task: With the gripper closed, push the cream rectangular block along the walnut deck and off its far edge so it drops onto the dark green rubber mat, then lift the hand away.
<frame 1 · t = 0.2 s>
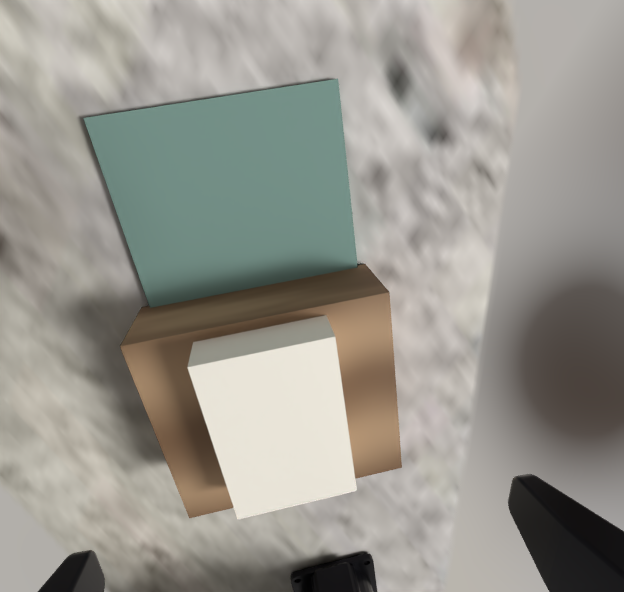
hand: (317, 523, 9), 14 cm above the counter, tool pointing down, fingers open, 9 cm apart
mat: (237, 200, 19), on the counter
deck: (274, 370, 24), on the counter
cream rectangular block: (278, 407, 20), point 4 cm above the counter, touching deck
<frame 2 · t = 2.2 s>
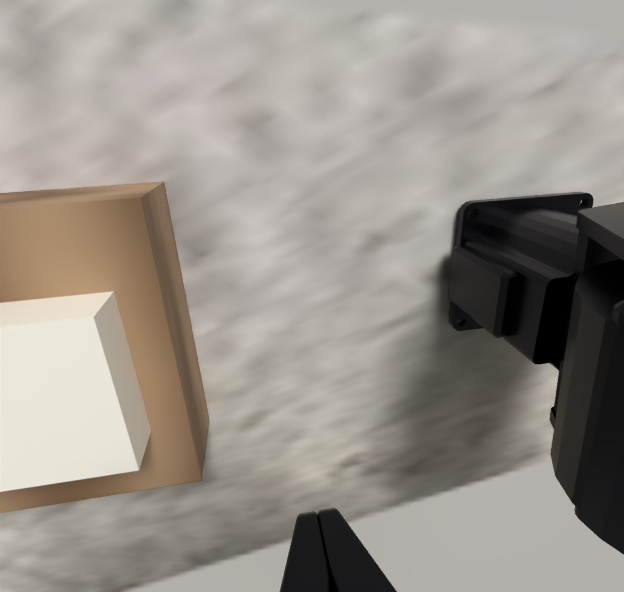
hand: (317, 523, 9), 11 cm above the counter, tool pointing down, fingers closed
deck: (62, 329, 18), on the counter
cream rectangular block: (1, 383, 14), point 4 cm above the counter, touching deck
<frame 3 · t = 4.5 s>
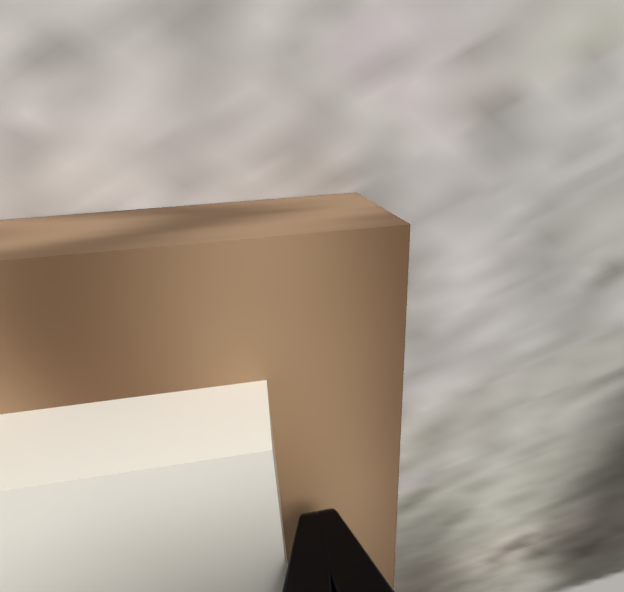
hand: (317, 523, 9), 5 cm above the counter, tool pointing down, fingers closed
deck: (190, 396, 13), on the counter
cream rectangular block: (78, 517, 9), point 4 cm above the counter, touching deck, gripper
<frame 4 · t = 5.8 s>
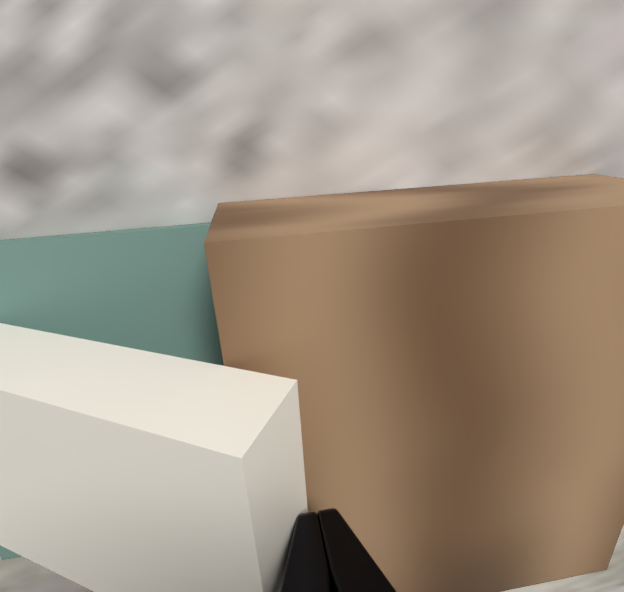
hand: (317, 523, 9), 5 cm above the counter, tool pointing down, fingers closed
mat: (100, 408, 13), on the counter
deck: (407, 367, 14), on the counter
cream rectangular block: (143, 447, 10), point 3 cm above the counter, tilted 30°, touching gripper
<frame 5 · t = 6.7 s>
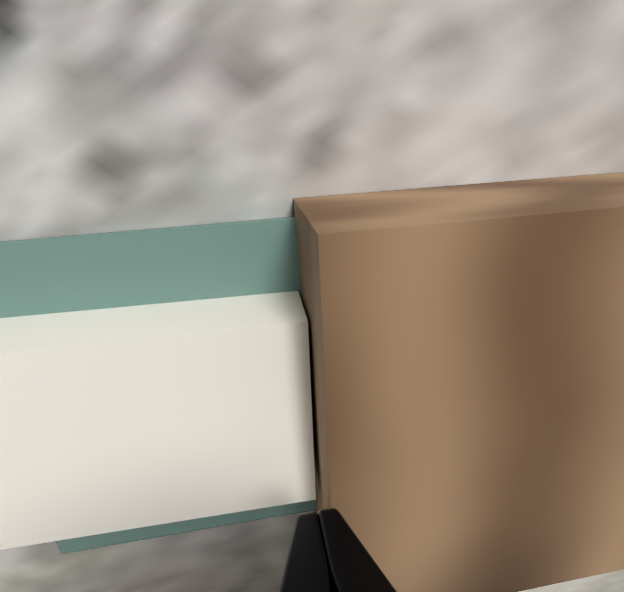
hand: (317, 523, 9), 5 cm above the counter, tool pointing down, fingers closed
mat: (164, 402, 13), on the counter
deck: (463, 362, 14), on the counter
cream rectangular block: (155, 395, 12), resting on mat
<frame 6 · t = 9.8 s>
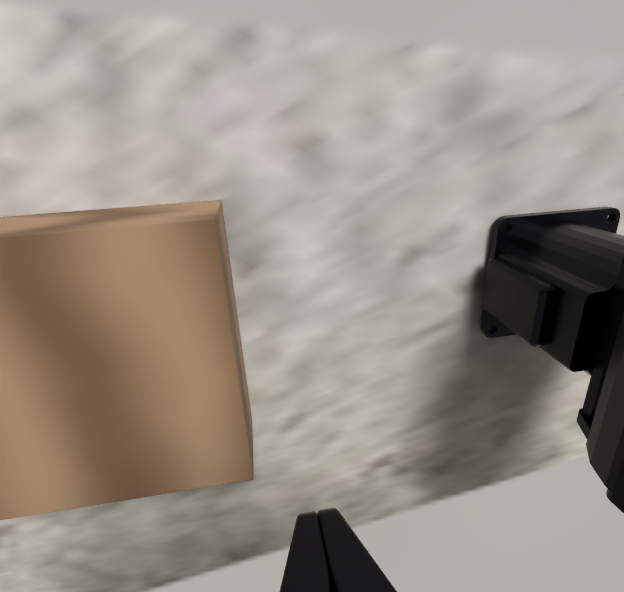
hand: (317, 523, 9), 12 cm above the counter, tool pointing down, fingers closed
deck: (121, 337, 19), on the counter
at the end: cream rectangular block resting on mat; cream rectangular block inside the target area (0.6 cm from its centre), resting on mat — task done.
